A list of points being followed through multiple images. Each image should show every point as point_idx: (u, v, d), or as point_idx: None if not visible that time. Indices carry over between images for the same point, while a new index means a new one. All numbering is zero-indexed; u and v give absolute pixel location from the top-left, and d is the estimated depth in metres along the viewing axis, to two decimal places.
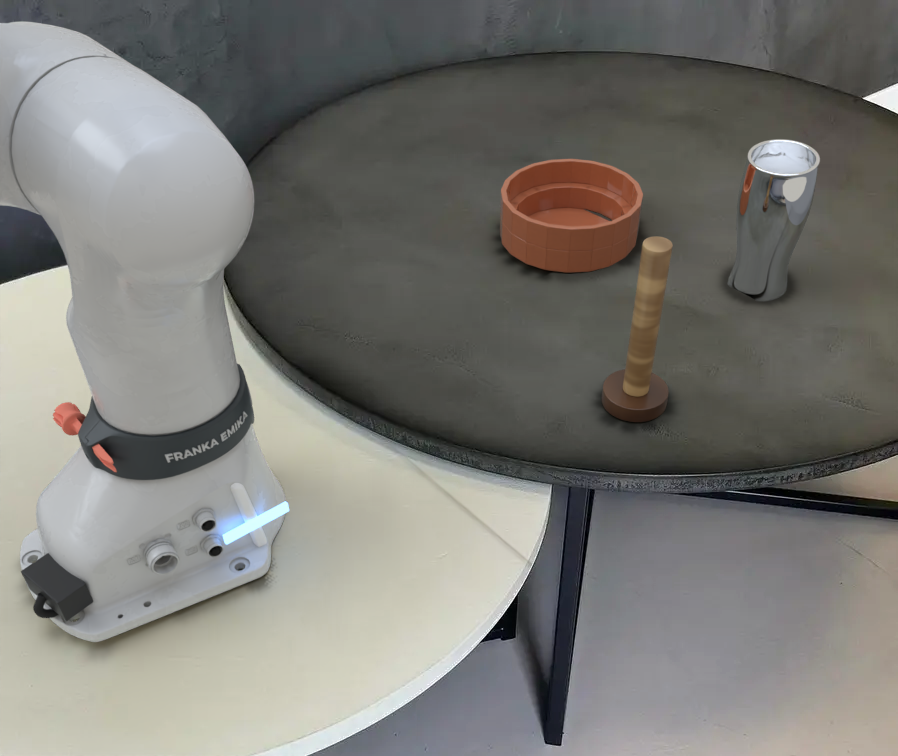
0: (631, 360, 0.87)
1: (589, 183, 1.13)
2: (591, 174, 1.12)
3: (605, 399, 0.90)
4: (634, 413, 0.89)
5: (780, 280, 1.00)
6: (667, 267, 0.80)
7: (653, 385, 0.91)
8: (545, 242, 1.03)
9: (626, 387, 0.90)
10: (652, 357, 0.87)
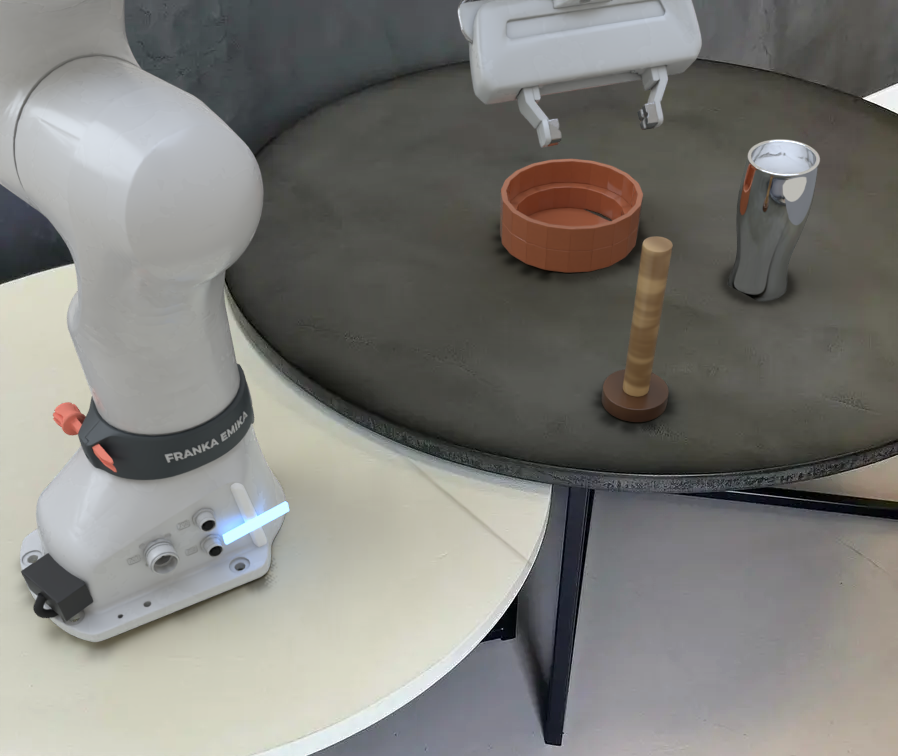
0: (631, 360, 0.87)
1: (589, 183, 1.13)
2: (591, 174, 1.12)
3: (605, 399, 0.90)
4: (634, 413, 0.89)
5: (780, 280, 1.00)
6: (667, 267, 0.80)
7: (653, 385, 0.91)
8: (545, 242, 1.03)
9: (626, 387, 0.90)
10: (652, 357, 0.87)
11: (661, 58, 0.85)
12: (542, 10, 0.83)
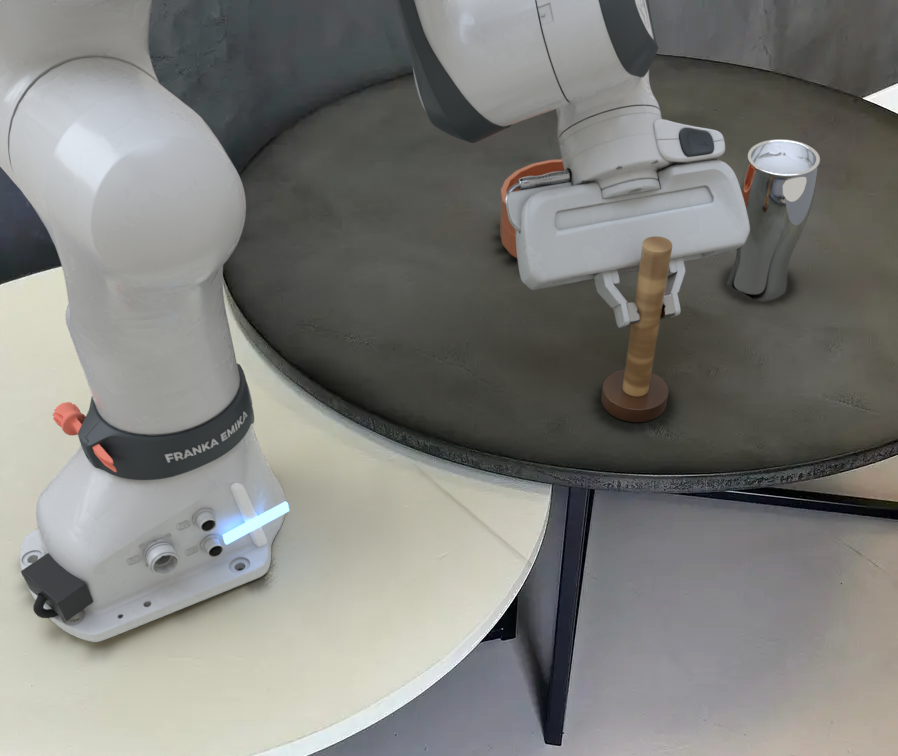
0: (631, 360, 0.87)
1: None
2: None
3: (605, 399, 0.90)
4: (634, 413, 0.89)
5: (780, 280, 1.00)
6: (667, 267, 0.80)
7: (653, 385, 0.91)
8: None
9: (626, 387, 0.90)
10: (652, 357, 0.87)
11: (709, 245, 0.84)
12: (591, 200, 0.82)
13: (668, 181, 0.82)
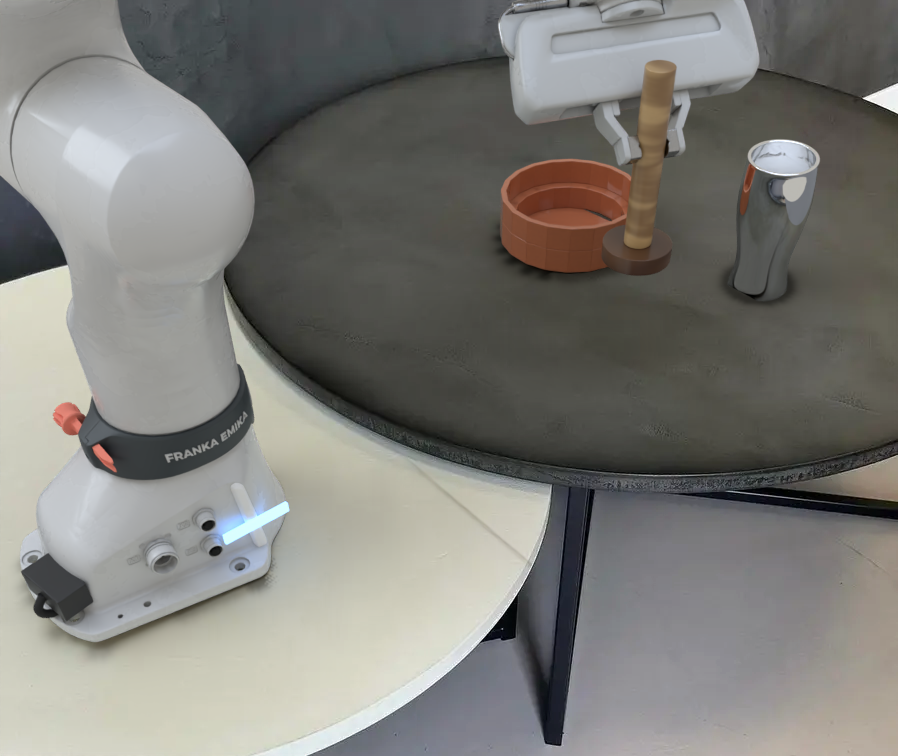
0: (633, 206, 0.82)
1: (589, 183, 1.13)
2: (591, 174, 1.12)
3: (605, 253, 0.85)
4: (636, 265, 0.84)
5: (780, 280, 1.00)
6: (671, 92, 0.75)
7: (656, 238, 0.86)
8: (545, 242, 1.03)
9: (628, 239, 0.84)
10: (655, 202, 0.82)
11: (716, 76, 0.78)
12: (590, 24, 0.76)
13: (672, 5, 0.77)
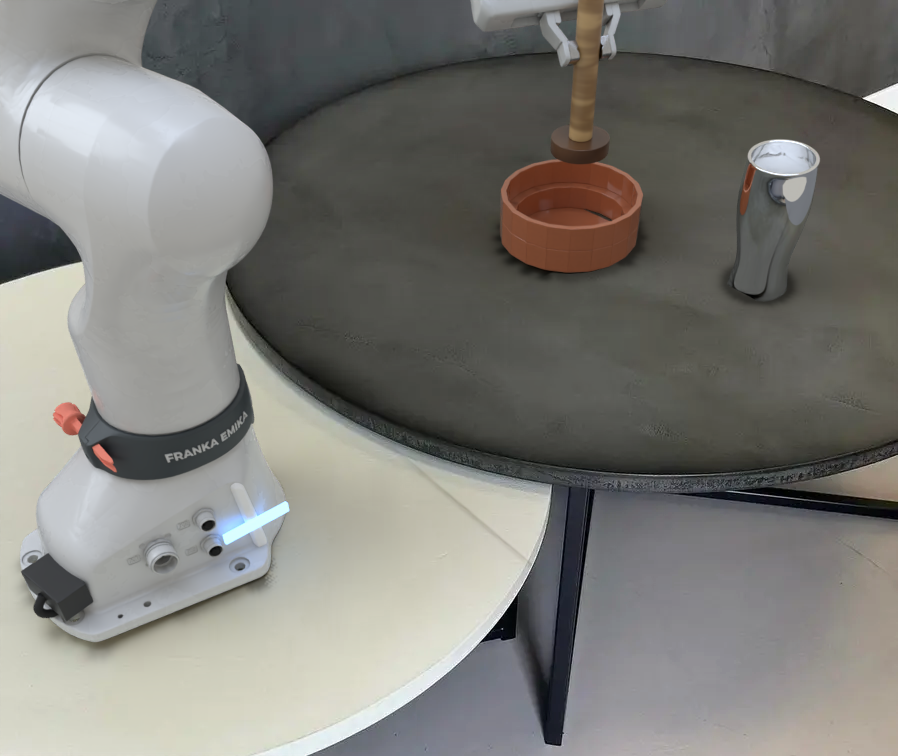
0: (574, 103, 0.98)
1: (589, 183, 1.13)
2: (591, 174, 1.12)
3: (553, 146, 1.01)
4: (578, 154, 0.99)
5: (780, 280, 1.00)
6: (601, 1, 0.91)
7: (596, 134, 1.01)
8: (545, 242, 1.03)
9: (571, 133, 1.00)
10: (593, 99, 0.97)
11: None
12: None
13: None
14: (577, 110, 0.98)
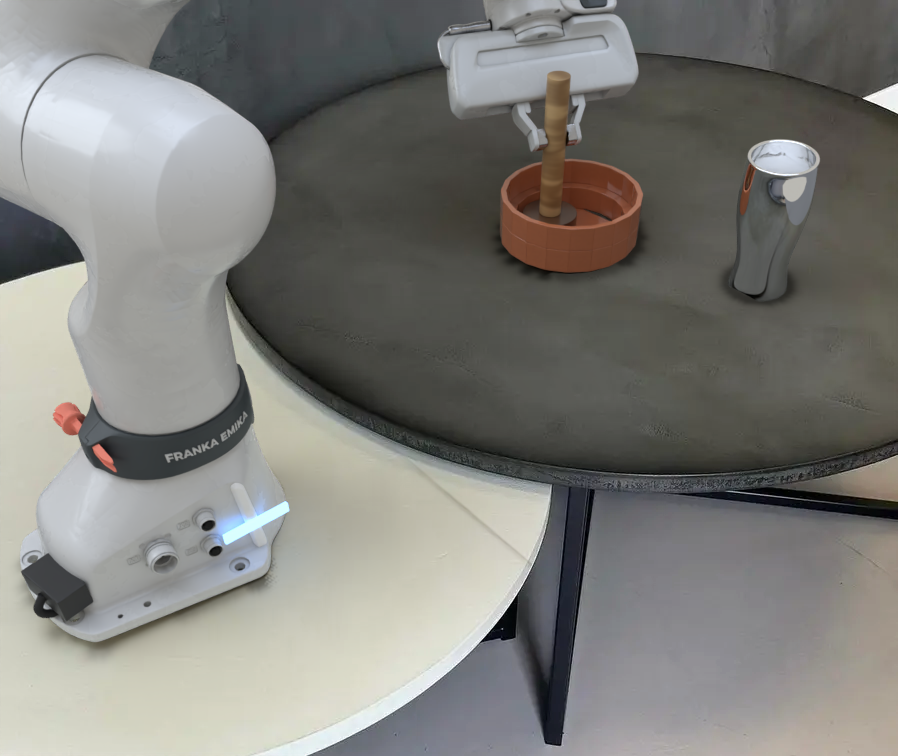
0: (544, 183, 1.06)
1: (589, 183, 1.13)
2: (591, 174, 1.12)
3: None
4: None
5: (780, 280, 1.00)
6: (567, 95, 0.99)
7: (564, 209, 1.10)
8: (545, 242, 1.03)
9: (541, 209, 1.09)
10: (561, 180, 1.06)
11: (605, 83, 1.03)
12: (507, 43, 1.01)
13: (570, 29, 1.01)
14: (546, 189, 1.06)
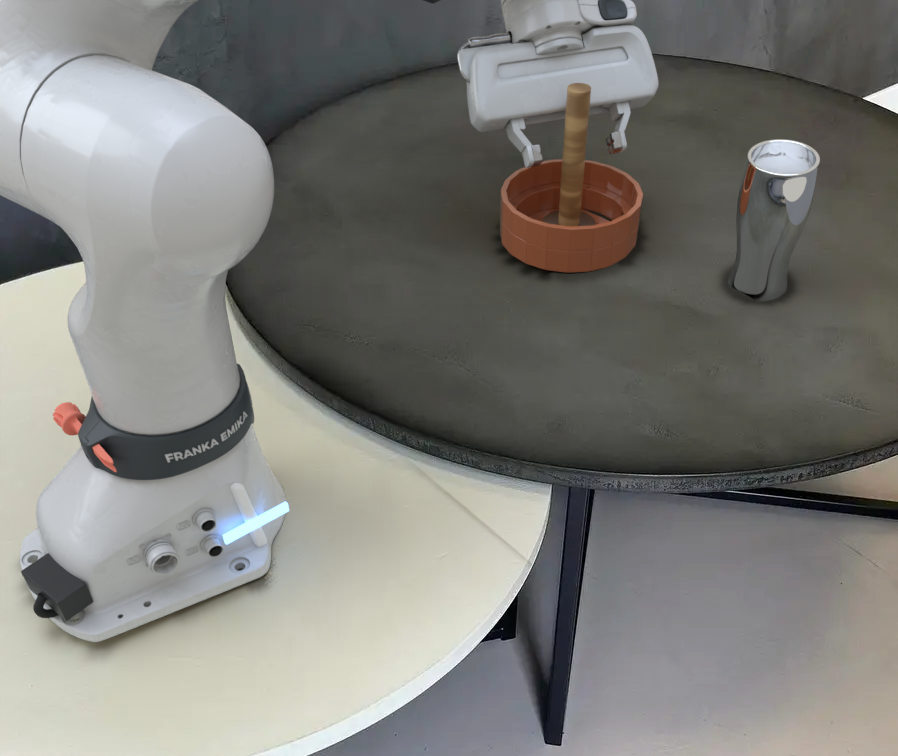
0: (563, 194, 1.06)
1: (589, 183, 1.13)
2: (591, 174, 1.12)
3: None
4: None
5: (780, 280, 1.00)
6: (587, 107, 0.99)
7: (583, 220, 1.10)
8: (545, 242, 1.03)
9: (560, 220, 1.08)
10: (580, 191, 1.06)
11: (625, 95, 1.03)
12: (527, 56, 1.00)
13: (590, 41, 1.01)
14: (565, 201, 1.06)
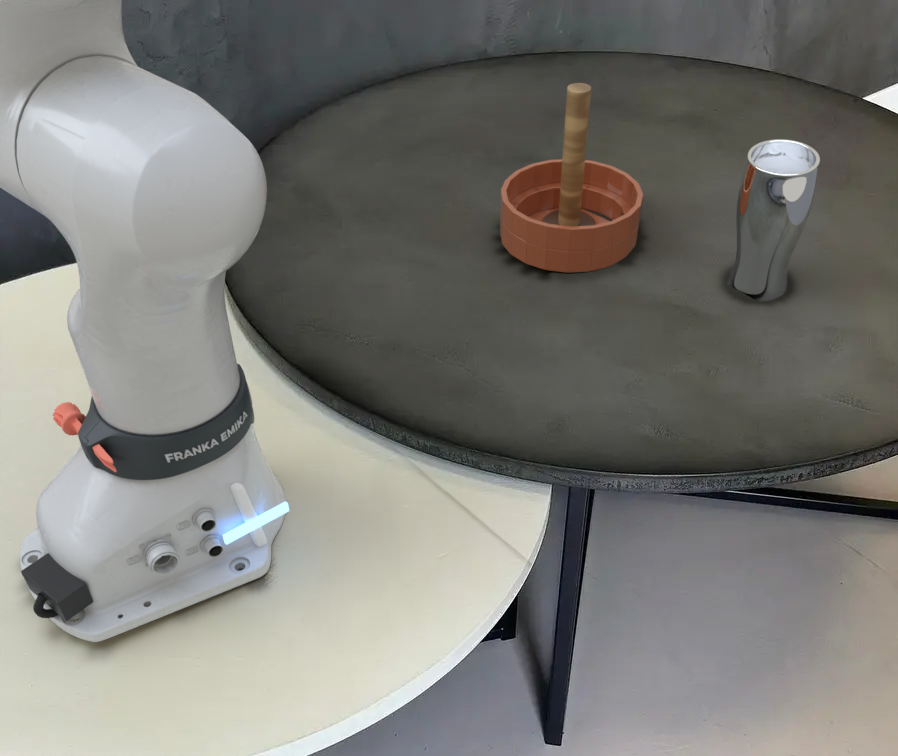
0: (563, 194, 1.06)
1: (589, 183, 1.13)
2: (591, 174, 1.12)
3: None
4: None
5: (780, 280, 1.00)
6: (587, 107, 0.99)
7: (583, 220, 1.10)
8: (545, 242, 1.03)
9: (560, 220, 1.08)
10: (580, 191, 1.06)
11: None
12: None
13: None
14: (565, 201, 1.06)
